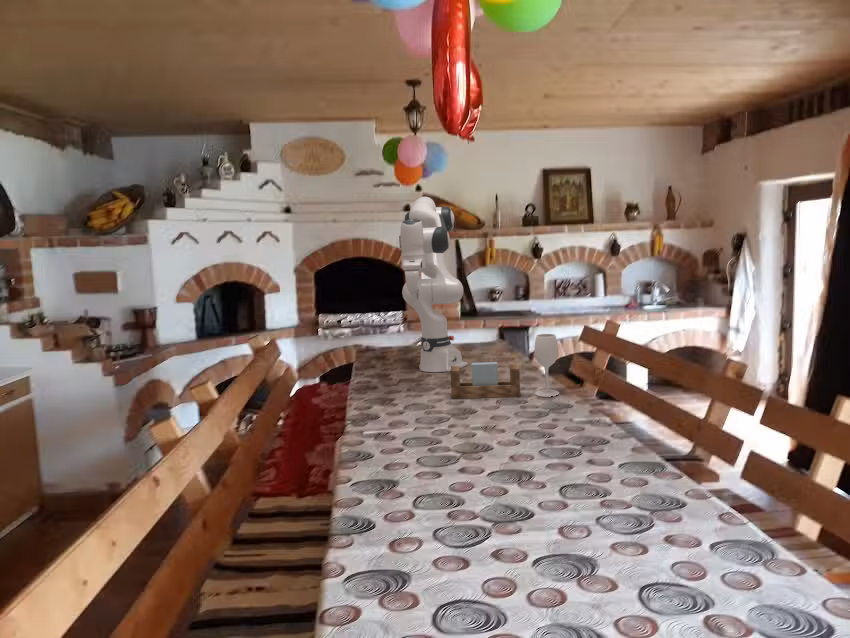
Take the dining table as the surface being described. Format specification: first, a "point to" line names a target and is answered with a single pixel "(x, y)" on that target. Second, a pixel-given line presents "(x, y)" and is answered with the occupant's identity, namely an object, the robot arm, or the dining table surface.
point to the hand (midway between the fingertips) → (415, 300)
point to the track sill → (494, 391)
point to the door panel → (484, 374)
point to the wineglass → (546, 358)
